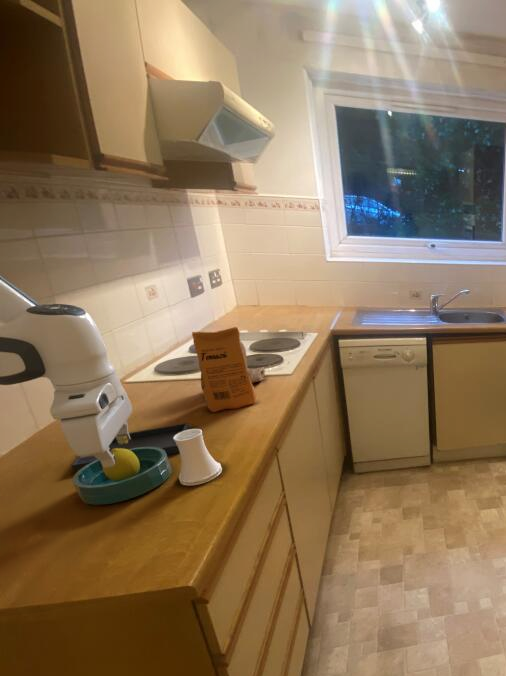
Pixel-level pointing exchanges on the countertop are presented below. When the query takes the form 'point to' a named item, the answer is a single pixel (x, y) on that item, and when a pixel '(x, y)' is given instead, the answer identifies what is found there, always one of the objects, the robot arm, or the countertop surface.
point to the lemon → (122, 465)
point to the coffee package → (223, 370)
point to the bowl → (106, 491)
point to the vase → (195, 458)
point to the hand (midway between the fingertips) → (118, 453)
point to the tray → (143, 442)
